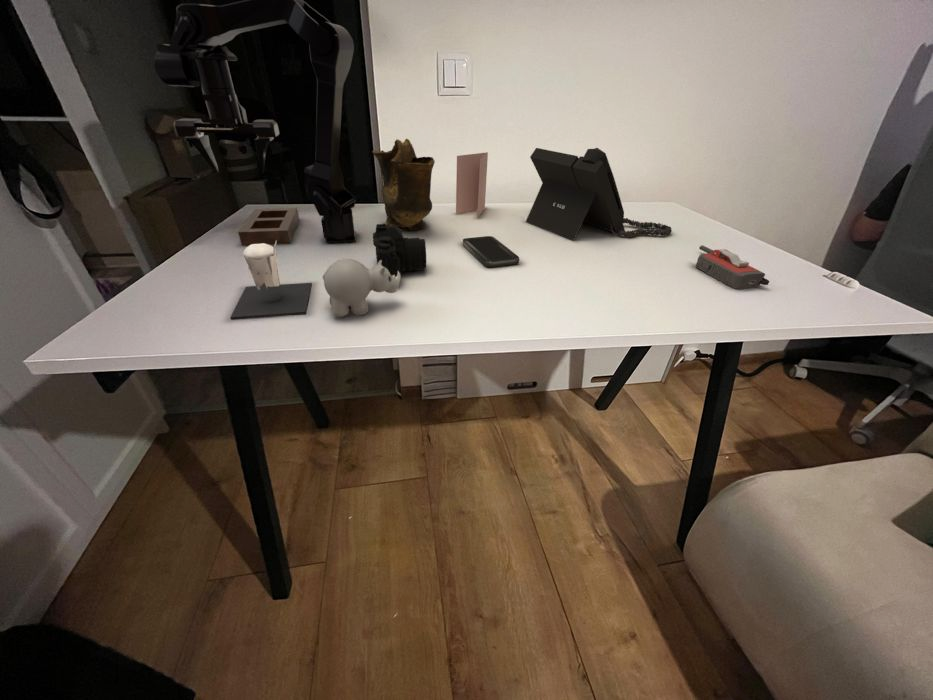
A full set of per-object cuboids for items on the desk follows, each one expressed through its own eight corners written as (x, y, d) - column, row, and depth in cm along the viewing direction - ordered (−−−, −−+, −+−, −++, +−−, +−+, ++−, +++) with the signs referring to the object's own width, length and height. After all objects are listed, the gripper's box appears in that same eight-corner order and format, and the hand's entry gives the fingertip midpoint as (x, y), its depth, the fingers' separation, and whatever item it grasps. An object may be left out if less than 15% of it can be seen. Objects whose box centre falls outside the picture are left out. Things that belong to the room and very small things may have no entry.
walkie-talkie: (775, 289, 78) (702, 252, 94) (786, 267, 76) (709, 233, 92) (738, 292, 76) (670, 254, 92) (748, 270, 74) (676, 235, 90)
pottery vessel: (444, 238, 96) (444, 146, 85) (400, 243, 92) (394, 147, 81) (412, 210, 114) (408, 132, 103) (374, 214, 110) (366, 132, 99)
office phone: (676, 234, 105) (705, 148, 93) (605, 254, 91) (628, 156, 79) (590, 207, 124) (605, 133, 113) (520, 219, 110) (529, 137, 99)
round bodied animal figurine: (406, 313, 65) (404, 264, 61) (330, 323, 62) (320, 272, 57) (398, 294, 71) (395, 247, 66) (327, 302, 68) (318, 254, 63)
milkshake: (285, 305, 65) (270, 245, 60) (252, 303, 65) (234, 244, 60) (295, 292, 69) (282, 235, 64) (264, 291, 69) (248, 234, 64)
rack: (299, 219, 104) (296, 207, 102) (290, 243, 90) (287, 230, 88) (257, 221, 102) (254, 209, 100) (241, 245, 88) (237, 232, 86)
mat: (311, 284, 73) (311, 282, 73) (305, 313, 64) (305, 311, 64) (246, 288, 71) (245, 286, 71) (230, 319, 62) (230, 317, 62)
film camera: (429, 287, 74) (428, 239, 69) (375, 289, 72) (370, 240, 67) (423, 256, 86) (421, 213, 81) (377, 257, 84) (372, 214, 79)
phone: (487, 262, 81) (461, 238, 92) (486, 268, 82) (461, 243, 93) (521, 258, 83) (492, 235, 95) (521, 263, 84) (492, 240, 96)
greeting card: (482, 207, 120) (485, 151, 112) (500, 212, 116) (505, 155, 107) (453, 213, 113) (454, 155, 105) (471, 219, 109) (474, 159, 101)
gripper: (274, 88, 88) (290, 165, 97) (179, 85, 84) (204, 165, 93) (265, 90, 79) (283, 175, 88) (158, 87, 75) (188, 176, 84)
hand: (240, 172), depth 89 cm, fingers open, 9 cm apart
